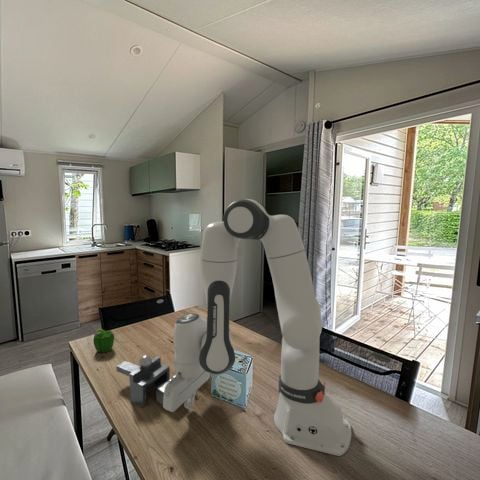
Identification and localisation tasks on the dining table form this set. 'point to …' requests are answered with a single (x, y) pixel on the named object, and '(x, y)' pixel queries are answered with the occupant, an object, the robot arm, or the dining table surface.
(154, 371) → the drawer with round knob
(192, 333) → the robot arm
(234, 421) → the dining table surface
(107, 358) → the dining table surface
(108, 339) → the bell pepper
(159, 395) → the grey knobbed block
